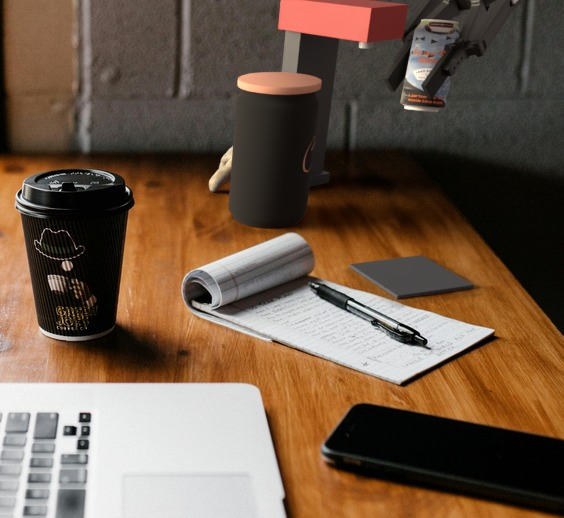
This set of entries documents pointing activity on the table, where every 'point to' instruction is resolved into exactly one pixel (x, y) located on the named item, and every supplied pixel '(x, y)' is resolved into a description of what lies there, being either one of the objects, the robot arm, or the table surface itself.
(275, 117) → the coffee jar
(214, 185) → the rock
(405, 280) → the mat
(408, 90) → the beverage can
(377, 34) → the coffee maker
